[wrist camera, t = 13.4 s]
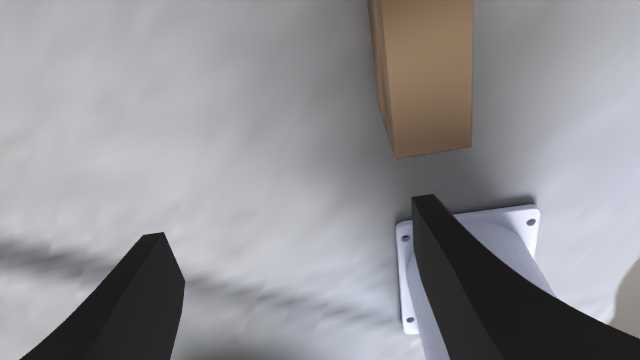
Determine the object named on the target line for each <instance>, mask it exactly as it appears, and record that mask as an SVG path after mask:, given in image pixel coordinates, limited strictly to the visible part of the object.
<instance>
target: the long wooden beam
mask: <svg viewBox="0 0 640 360" xmlns="http://www.w3.org/2000/svg"><path fill="white" fill-rule="evenodd" d="M368 9H369V18H370V27H371V36H372V45H373V55H374V64H375V73H376V82H377V92H378V101H379V108H380V111H381V114H382V118H383V121H384V124H385V127H386V130H387V133H388V136H389V139H390V142H391V145H392V148H393V152H394V155H395V158H396V159H400V158H406V157H413V156H419V155H425V154H431V153H437V152H443V151H450V150H456V149H462V148H468V147H471V134H472V39H473V0H368Z"/></svg>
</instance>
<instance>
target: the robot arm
mask: <svg viewBox="0 0 640 360" xmlns="http://www.w3.org/2000/svg"><path fill="white" fill-rule="evenodd" d="M411 199H412V220H409V221H403V222H400V223H398V224H397V226H396V243H397V258H398V272H399V287H400V301H401V316H402V328H403V331H404V333H406V334H418V333H420V337H421V341H422V345H423V349H424V353H425V357H426V360H640V339H639V338H636V337H634V336H632V335H629V334H627V333H625V332H622V331H620V330H618V329H615V328H613V327H611V326H609V325H606V324H604V323H602V322H600V321H598V320H596V319H594V318H592V317H590V316H588V315H586V314H584V313H582V312H580V311H578V310H577V309H575V308H573V307H571V306H569V305H567V304H566V303H564V302H562V301H561V300H559V299H557V298H556V296H555V294H554V293H553V291H552V289H551V288H550V286H549V284H548V282H547V281H546V279H545V277H544V276H543V274H542V272H541V271H540V269H539V267H538V265H537V264H536V262H535V260H534V256H535V250H536V243H537V236H538V230H539V223H540V216H541V211H540V209H539V208H538V207H537V206H536V205H534V204H530V205H522V206H514V207H507V208H499V209H492V210H484V211H477V212H469V213H462V214H454V215H452V214H451V213H450V211H449V210H448V209H447V208H446V207H445V206H444V205H443V204H442V202H441V201H440V200H439V199H438V198H437V197H436V196H435V195H434V194H430V195H423V196H416V197H411ZM529 219H532V220H531V221H528V220H529ZM404 235H408V236H407V237H405V238H403V236H404ZM184 287H185V280H184V277H183V275H182V273H181V271H180V268H179V266H178V264H177V261H176V259H175V257H174V255H173V252H172V250H171V248H170V245H169V243H168V241H167V238H166V236H165V234H164V232H161V233H154V234H147V235H143V236H142V237H141V238H140V239H139V240H138V241H137V242H136V243H135V245H134V246H133V247H132V248H131V249H130V250H129V252H128V253H127V254H126V255H125V256H124V257H123V258H122V260H121V261H120V262H119V263H118V264H117V265H116V267H115V268H114V269H113V270H112V271H111V272H110V273H109V275H108V276H107V277H106V278H105V279H104V280H103V281H102V282H101V284H100V285H99V286H98V287H97V288H96V289H95V290H94V291H93V292H92V293H91V294H90V295H89V296H88V297H87V298H86V300H85V301H84V302H83V303H82V304H81V305H80V306H79V307H78V308H77V309H76V310H75V311H74V312H73V313H72V314H71V315H70V316H69V317H68V318H67V319H66V320H65V321H64V322H63V323H62V324H61V325H60V326H59V327H57V328H56V329H55V330H54V331H53V332H52V333H51V334H50V335H49V336H47V337H46V338H45V339H44V340H43V341H42V342H41V343H39V344H38V345H37V346H36V347H35V348H34V349H32V350H31V351H30V352H29V353H27V354H26V355H25V356H23V357H22V358H21V359H20V360H170V357H171V353H172V350H173V346H174V342H175V338H176V334H177V330H178V326H179V322H180V318H181V313H182V306H183V297H184ZM409 317H410V318H409Z"/></svg>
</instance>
